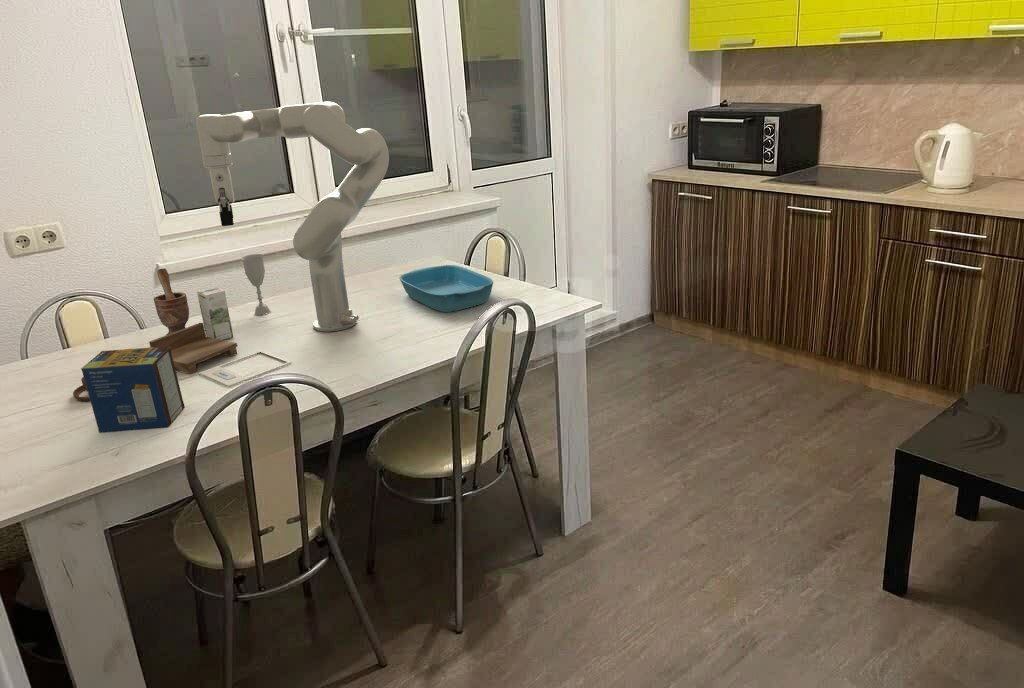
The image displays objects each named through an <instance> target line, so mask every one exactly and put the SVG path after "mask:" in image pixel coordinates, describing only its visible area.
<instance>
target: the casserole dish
mask: <svg viewBox="0 0 1024 688" xmlns="http://www.w3.org/2000/svg"><path fill="white" fill-rule="evenodd" d="M399 281H400V282H401V284H402V287H403V289H404V291H405V293H406V294H407V296H409V297H410V298H412V299H413V300H415V301H417V302H419V303H421V304H423V305H425V306H427V307H429V308H431V309H433V310H436V311H438V312H440V313H441V312H442V313H451V312H452V311H453V312H456V311H461V310H465V308H466V309H467V308H468V309H469V307H470V308H474V307H477V306H481V305H483V304H485V303H486V301H488V299H489V298H490V296H491V293H492V290H493V284H494V280H493V279H492V278H491V277H488V276H486V275H484V274H481V273H479V272H476V271H474V270H471V269H469V268H466V267H463V266H460V265H455V264H446V265H445V264H444V265H442V264H441V265H437V266H425V267H422V268H417V269H414V270H411V271H409V272H406V273H402V274H401V275H400V276H399ZM484 302H485V303H484ZM480 304H481V305H480ZM476 305H477V306H476ZM473 306H474V307H473Z"/></svg>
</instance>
